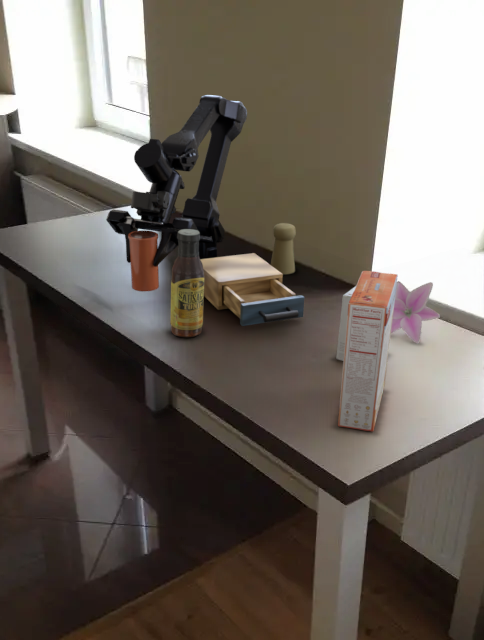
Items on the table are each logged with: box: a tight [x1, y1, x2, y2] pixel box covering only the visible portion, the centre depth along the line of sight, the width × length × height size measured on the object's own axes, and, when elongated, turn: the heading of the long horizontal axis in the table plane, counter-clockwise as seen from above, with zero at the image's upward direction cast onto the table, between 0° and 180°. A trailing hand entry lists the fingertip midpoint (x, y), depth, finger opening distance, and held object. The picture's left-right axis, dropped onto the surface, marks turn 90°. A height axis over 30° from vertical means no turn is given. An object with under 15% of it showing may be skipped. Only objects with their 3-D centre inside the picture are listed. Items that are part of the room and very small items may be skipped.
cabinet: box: [200, 252, 284, 311], centre depth 161 cm, size 15×15×6 cm
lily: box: [391, 280, 441, 345], centre depth 145 cm, size 12×12×10 cm
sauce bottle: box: [169, 229, 205, 338], centre depth 139 cm, size 7×6×20 cm
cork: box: [270, 222, 297, 275], centre depth 173 cm, size 6×6×11 cm
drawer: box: [222, 279, 305, 327], centre depth 150 cm, size 17×13×4 cm
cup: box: [128, 229, 160, 293], centre depth 151 cm, size 6×6×11 cm
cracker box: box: [337, 270, 399, 432], centre depth 114 cm, size 14×6×21 cm, turn 163°
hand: (141, 263), depth 150 cm, fingers closed on cup, 5 cm apart
